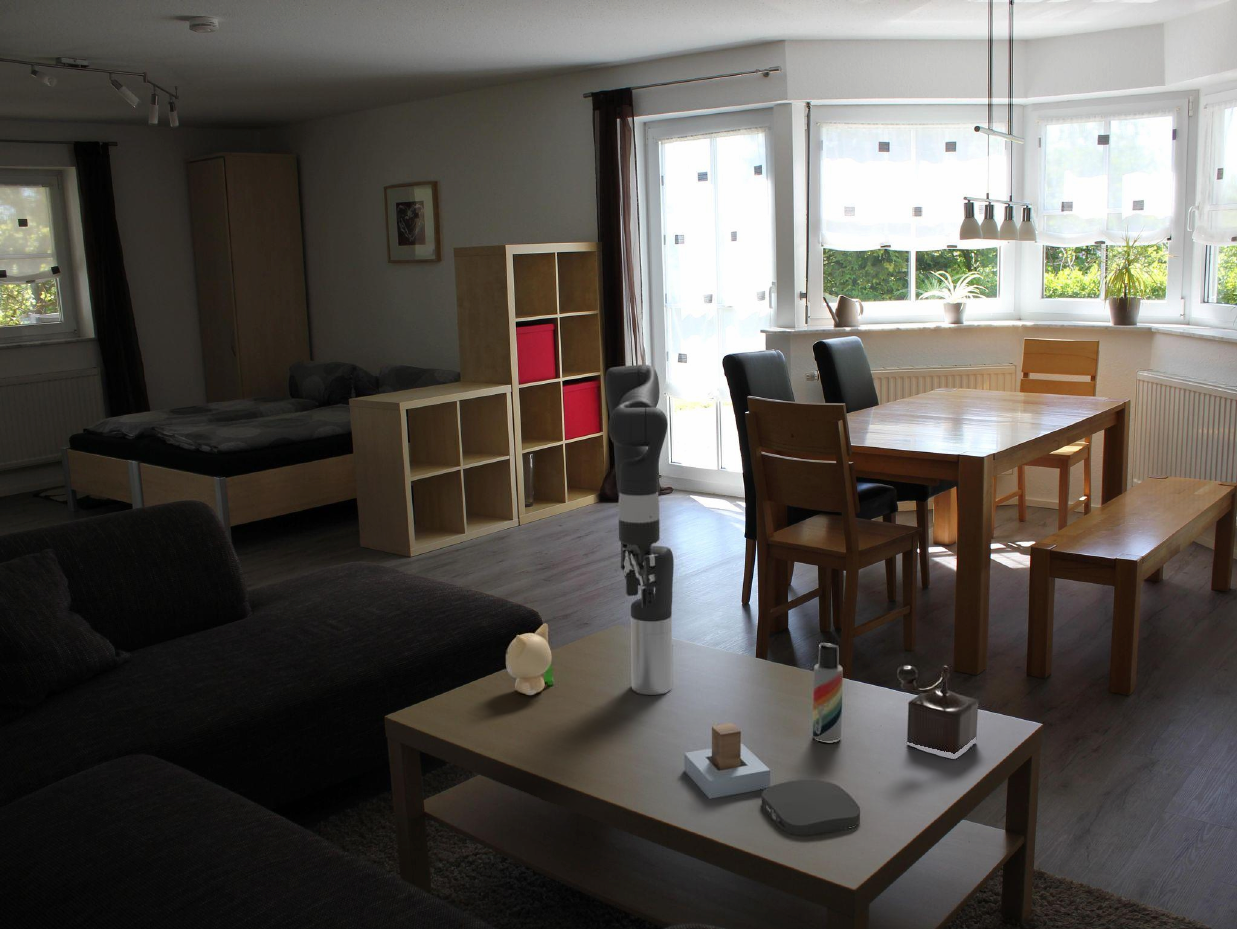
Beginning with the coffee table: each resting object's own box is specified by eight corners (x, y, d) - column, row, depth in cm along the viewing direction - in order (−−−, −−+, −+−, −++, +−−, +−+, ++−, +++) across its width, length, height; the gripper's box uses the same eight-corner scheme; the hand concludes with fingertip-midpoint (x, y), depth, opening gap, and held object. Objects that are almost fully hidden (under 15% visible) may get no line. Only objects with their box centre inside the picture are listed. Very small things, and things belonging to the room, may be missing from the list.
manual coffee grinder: (926, 728, 220) (929, 645, 217) (977, 743, 213) (982, 657, 210) (889, 753, 209) (892, 666, 206) (943, 770, 202) (947, 680, 199)
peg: (711, 776, 201) (711, 726, 199) (730, 772, 202) (731, 722, 200) (720, 785, 197) (721, 734, 195) (740, 781, 198) (740, 731, 196)
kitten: (535, 676, 252) (533, 615, 249) (568, 685, 246) (567, 622, 243) (492, 696, 240) (490, 632, 237) (526, 706, 234) (524, 641, 231)
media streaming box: (868, 827, 182) (868, 811, 181) (789, 841, 178) (790, 824, 177) (828, 788, 196) (828, 773, 195) (754, 800, 192) (754, 785, 191)
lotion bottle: (807, 738, 216) (808, 644, 213) (822, 729, 220) (824, 637, 217) (831, 746, 212) (833, 650, 209) (846, 737, 216) (848, 643, 213)
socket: (684, 770, 203) (684, 752, 202) (741, 760, 207) (741, 743, 206) (709, 798, 192) (709, 780, 191) (770, 787, 196) (770, 769, 195)
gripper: (672, 522, 190) (672, 610, 193) (644, 506, 203) (645, 588, 206) (632, 526, 188) (633, 615, 191) (607, 510, 201) (608, 593, 204)
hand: (639, 601), depth 198 cm, fingers open, 8 cm apart
